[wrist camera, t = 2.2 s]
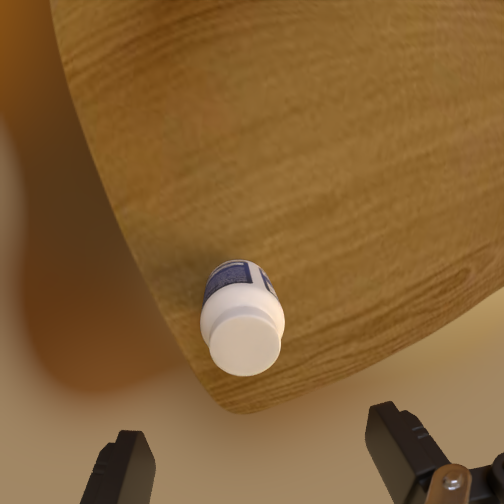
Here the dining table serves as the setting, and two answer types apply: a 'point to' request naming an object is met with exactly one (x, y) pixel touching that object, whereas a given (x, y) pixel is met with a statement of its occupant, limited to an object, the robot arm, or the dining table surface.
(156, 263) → the dining table surface
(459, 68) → the dining table surface
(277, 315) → the pill bottle
